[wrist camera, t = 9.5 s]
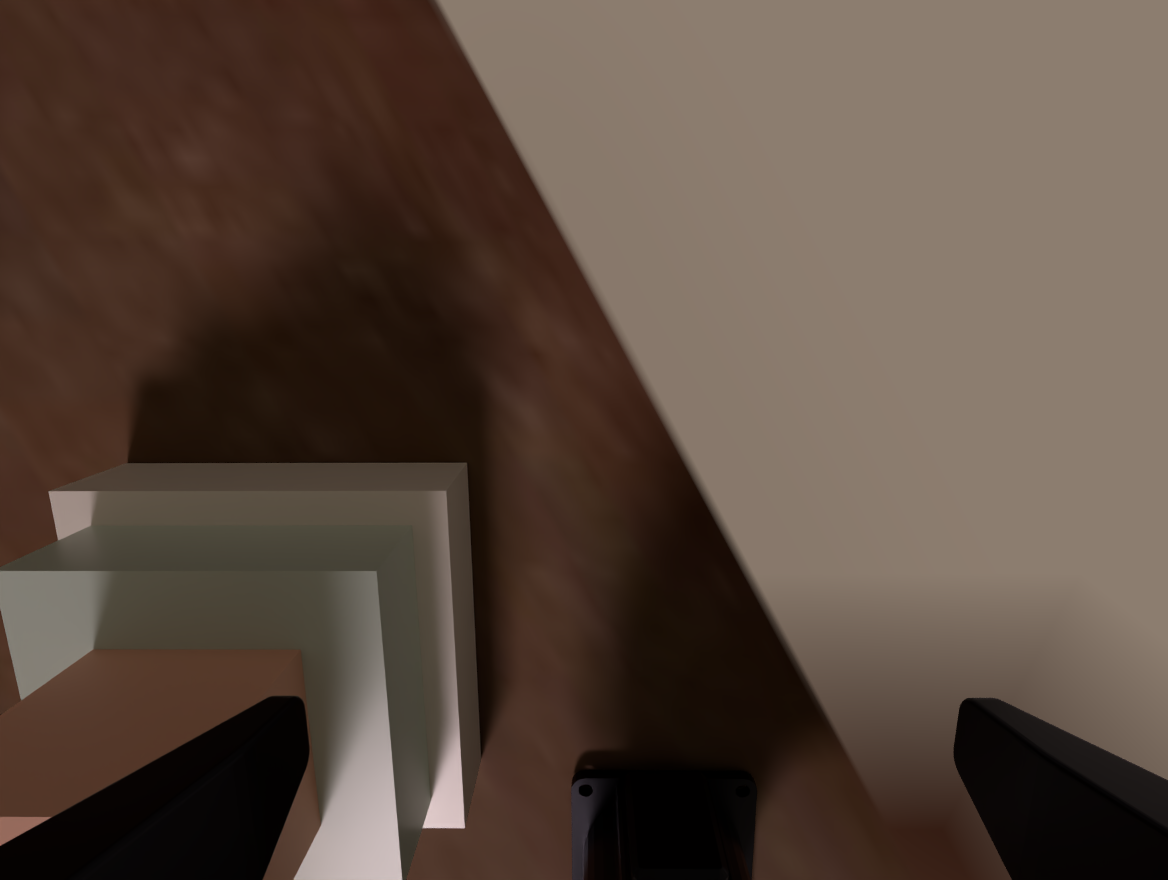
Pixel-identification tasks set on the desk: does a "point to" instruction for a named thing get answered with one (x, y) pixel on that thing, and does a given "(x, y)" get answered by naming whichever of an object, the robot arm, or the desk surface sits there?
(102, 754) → the terracotta block
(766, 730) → the desk surface
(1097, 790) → the robot arm
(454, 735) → the tower base
